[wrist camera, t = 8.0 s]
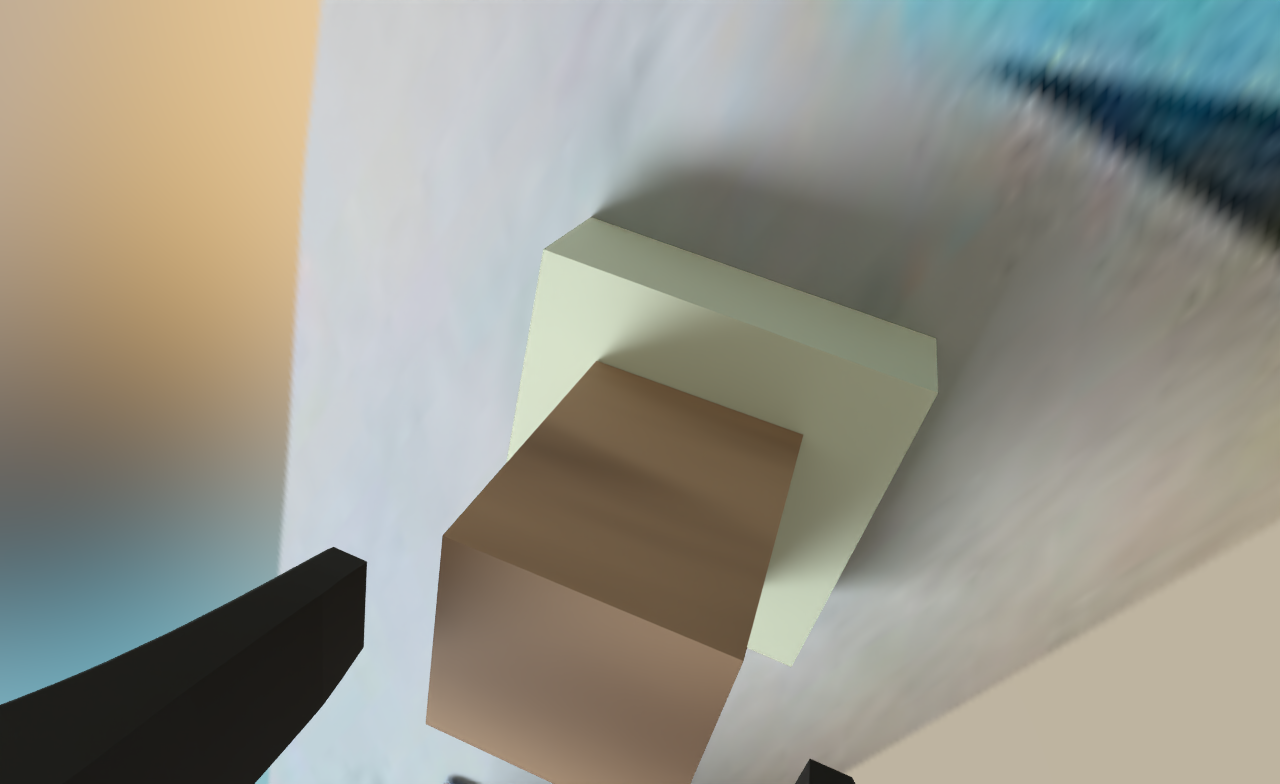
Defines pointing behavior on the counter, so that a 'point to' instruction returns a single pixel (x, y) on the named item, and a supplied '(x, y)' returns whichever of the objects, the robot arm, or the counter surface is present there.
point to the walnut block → (609, 584)
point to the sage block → (741, 387)
